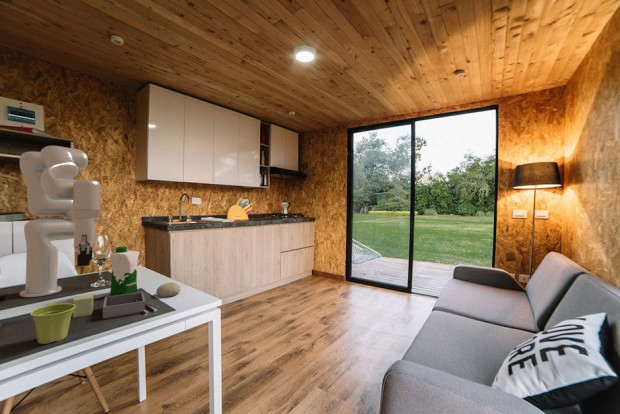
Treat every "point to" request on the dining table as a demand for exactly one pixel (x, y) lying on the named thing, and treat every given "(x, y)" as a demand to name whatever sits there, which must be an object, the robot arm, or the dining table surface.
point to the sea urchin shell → (168, 289)
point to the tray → (123, 305)
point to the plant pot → (52, 322)
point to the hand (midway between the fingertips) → (85, 263)
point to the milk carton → (124, 271)
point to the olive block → (83, 305)
